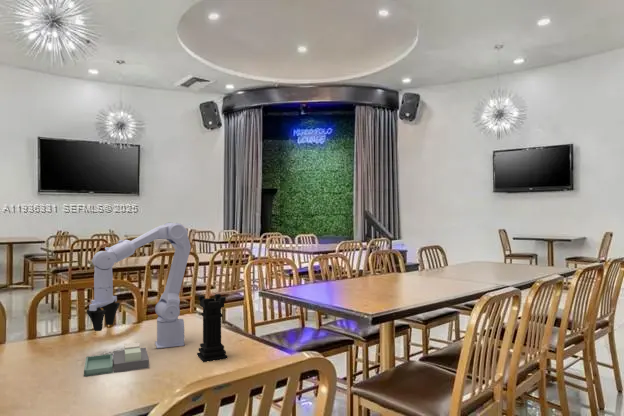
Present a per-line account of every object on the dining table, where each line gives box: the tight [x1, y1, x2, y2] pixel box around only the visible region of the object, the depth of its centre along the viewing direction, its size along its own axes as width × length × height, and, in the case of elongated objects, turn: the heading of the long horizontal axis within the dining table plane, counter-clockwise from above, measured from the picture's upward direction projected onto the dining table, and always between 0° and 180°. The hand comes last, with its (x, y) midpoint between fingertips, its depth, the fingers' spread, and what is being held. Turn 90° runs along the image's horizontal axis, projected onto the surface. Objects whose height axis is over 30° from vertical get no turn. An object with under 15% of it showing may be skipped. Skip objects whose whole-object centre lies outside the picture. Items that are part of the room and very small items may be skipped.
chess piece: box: [196, 293, 228, 363], centre depth 152 cm, size 8×8×20 cm
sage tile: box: [125, 347, 141, 362], centre depth 142 cm, size 4×4×2 cm
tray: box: [83, 353, 114, 377], centre depth 142 cm, size 8×14×2 cm, turn 24°
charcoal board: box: [112, 347, 150, 374], centre depth 145 cm, size 10×14×2 cm
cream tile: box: [123, 342, 141, 354], centre depth 148 cm, size 4×4×2 cm
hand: (103, 327), depth 153 cm, fingers open, 7 cm apart
